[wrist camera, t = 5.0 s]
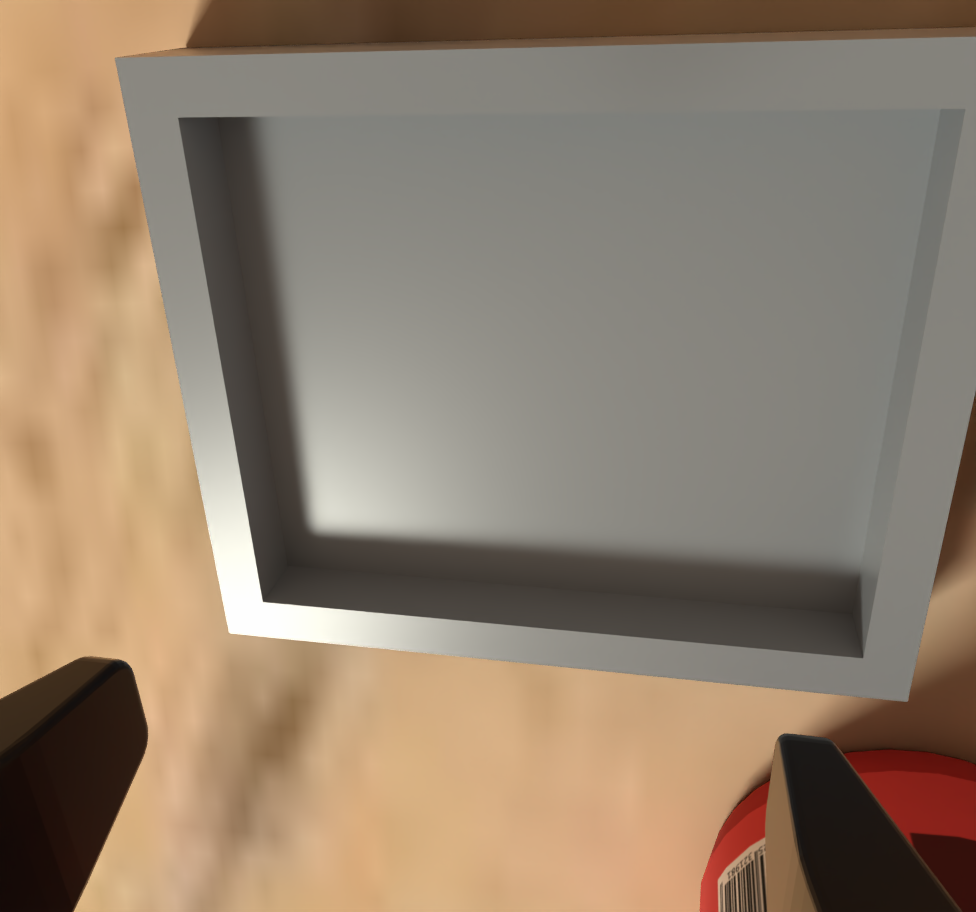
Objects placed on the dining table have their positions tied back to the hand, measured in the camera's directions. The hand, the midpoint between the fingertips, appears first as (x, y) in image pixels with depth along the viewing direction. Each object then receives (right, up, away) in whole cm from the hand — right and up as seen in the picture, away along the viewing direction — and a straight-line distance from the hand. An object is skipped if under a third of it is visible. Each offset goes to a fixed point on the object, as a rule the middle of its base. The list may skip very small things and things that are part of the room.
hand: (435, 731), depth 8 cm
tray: (+2, +4, +8) cm, 9 cm away
